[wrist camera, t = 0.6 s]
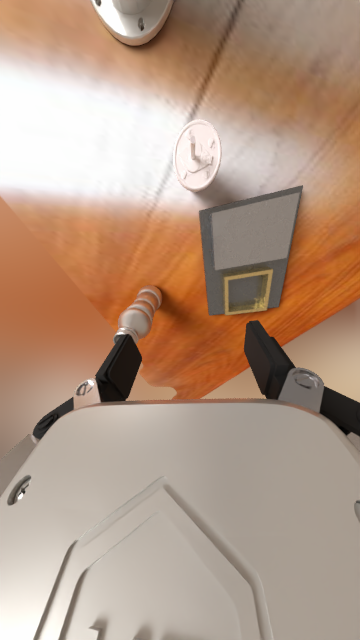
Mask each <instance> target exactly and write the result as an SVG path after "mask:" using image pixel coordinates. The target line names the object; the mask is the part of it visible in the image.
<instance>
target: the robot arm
mask: <svg viewBox="0 0 360 640" xmlns="http://www.w3.org/2000/svg"><path fill="white" fill-rule="evenodd" d="M90 1H91V3H92V5H93V7H94V9H95V11H96V13H97V15H98V17H99V18H100V20H101V21H102V23H103V24H104V26H105V27H106V28H107V29H108V31H109V32H110V33H111V34H112V35H113V36H114V37H115V38H117V39H118V40H119V41H121V42H123V43H125V44H128V45H142V44H144V43H147V42H148V41H150V40H151V39H152V38H153V37H155V36H156V34H157V33H158V32H159V31H160V29H161V28H162V27H163V25H164V23H165V21H166V19H167V17H168V15H169V13H170V10H171V7H172V4H173V1H174V0H90ZM143 29H144V30H143ZM142 30H143V31H142ZM244 352H245V355H246V357H247V359H248V362H249V364H250V367H251V369H252V371H253V374H254V376H255V379H256V381H257V384H258V386H259V388H260V391H261V393H262V394H263V395H265V396H266V398H267V399H185V400H148V401H147V400H146V401H125V400H126V398H128V396H129V394H130V391H131V388H132V386H133V383H134V380H135V377H136V375H137V372H138V369H139V366H140V364H141V361H142V356H141V354H140V352H139V350H138V348H137V346H136V344H135V342H134V340H133V338H132V336H131V335H129V334H122V335H121V336H120V338H119V339H118V341H117V342H116V344H115V346H114V347H113V349H112V350H111V352H110V353H109V355H108V356H107V358H106V360H105V361H104V363H103V364H102V366H101V367H100V369H99V371H98V372H97V374H96V375H95V376H96V378H95V379H87V380H85V381H84V382H82V383H81V384H80V385H79V386H78V387H77V388H76V389H75V391H74V395H73V397H72V398H71V399H69V400H68V401H66V402H65V403H63V404H62V405H60V406H59V407H57V408H56V409H54V410H53V411H51V412H50V413H48V414H47V415H45V416H44V417H43V418H42V419H41V420H40V421H39V422H38V423H37V425H36V426H35V428H34V431H33V434H32V435H31V434H28V435H27V436H26V437H25V438H24V439H23V440H22V441H21V442H19V444H17V445H16V446H15V447H14V448H13V449H12V450H10V451H9V452H8V453H7V454H6V455H5V456H4V457H3V458H2V459H0V640H360V403H359V402H357V401H354V400H353V399H350V398H348V397H346V396H344V395H342V394H340V393H338V392H336V391H334V390H331V389H329V388H327V387H325V386H324V383H323V381H322V379H321V378H320V377H319V376H318V375H317V374H315V373H314V372H312V371H310V370H307V369H304V368H296V367H295V366H294V364H293V363H292V362H291V360H290V359H289V357H288V356H287V355H286V353H285V352H284V351H283V349H282V348H281V346H280V345H279V344H278V342H277V341H276V340H275V338H274V337H269V335H268V334H267V332H266V331H265V329H264V328H263V326H262V325H261V324H260V322H259V321H258V320H256V321H249V323H247V324H246V334H245V345H244ZM355 502H356V503H355Z"/></svg>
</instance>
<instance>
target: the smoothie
mask: <svg viewBox="0 0 360 640" xmlns="http://www.w3.org/2000/svg"><path fill="white" fill-rule="evenodd" d="M221 153H222V150H221V142H220V138H219V135H218V133H217V131H216V129H215V128H214V126H213V125H212V124H211V123H209V122H208V121H206V120H202V119H197V120H193V121H191V122H189V123H188V124H187V125H185V126H184V128H183V129H182V130H181V132H180V133H179V135H178V137H177V140H176V142H175V146H174V152H173V163H174V169H175V174H176V176H177V179H178V181H179V182H180V183H181V185H182V186H183V187H184V188H186V189H187V190H189V191H192V192H198V191H201V190H204V189H205V188H207V187H208V186H209V185H210V184H211V183H212V182H213V180H214V179H215V177H216V175H217V173H218V170H219V166H220V162H221Z"/></svg>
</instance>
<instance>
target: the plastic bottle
mask: <svg viewBox="0 0 360 640" xmlns="http://www.w3.org/2000/svg"><path fill="white" fill-rule="evenodd" d="M161 303H162V294H161V292H160V290H159V289H158V288H157V287H155V286H152V285H147V286H145V287H143V288H141V289H140V291H139V293H138V295H137V298H136V300H135V301H134V303H133V304H132V305H131V306H129V307H128V308H127V309H126V310H124V311H123V312H122V313H121V315H120V316H119V320H118V326H119V329H118V331H117V333H116V334H115V336H114V338H113V341H114V343H115V344H116V342H117V341H118V339H119V338H120V336H121V335H122V334H129V335H131V336H132V338H133V340H134V342H135V344H136V343H137V342H138V340H139V339H142V338H144V337H145V336H147V335H148V333H149V332H150V330H151V326H152V320H153V317H154V314H155V312H156V310H157V309H158V308H159V306H160V305H161Z"/></svg>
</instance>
